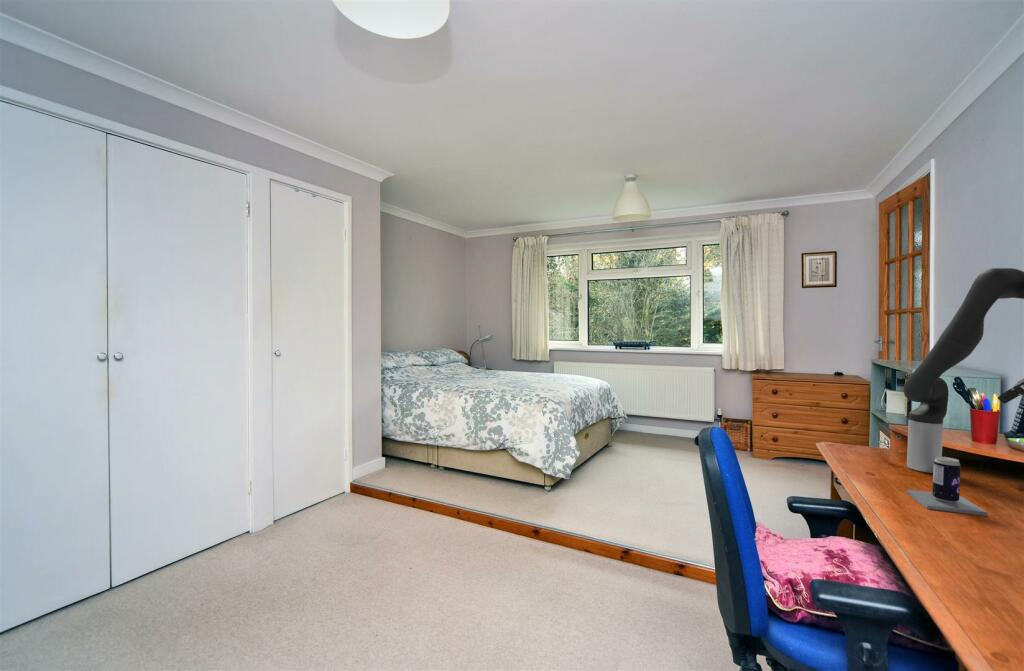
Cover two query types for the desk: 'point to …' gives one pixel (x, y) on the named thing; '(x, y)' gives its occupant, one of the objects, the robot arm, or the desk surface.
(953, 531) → the desk surface
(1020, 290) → the robot arm
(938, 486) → the beverage can
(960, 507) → the slate tile
